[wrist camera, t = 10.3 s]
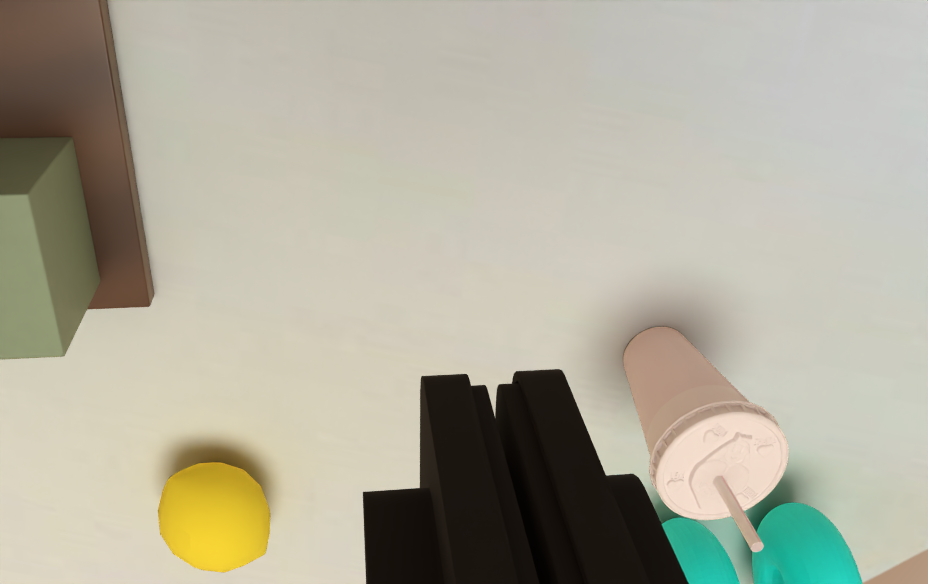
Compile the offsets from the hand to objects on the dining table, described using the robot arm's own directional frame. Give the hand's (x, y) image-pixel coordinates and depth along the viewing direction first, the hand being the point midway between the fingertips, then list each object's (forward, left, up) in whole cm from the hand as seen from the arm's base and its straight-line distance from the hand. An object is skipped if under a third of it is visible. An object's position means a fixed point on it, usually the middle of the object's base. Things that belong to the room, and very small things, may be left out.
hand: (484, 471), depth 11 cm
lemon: (+26, -9, -31) cm, 42 cm away
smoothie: (+19, +15, -31) cm, 40 cm away
